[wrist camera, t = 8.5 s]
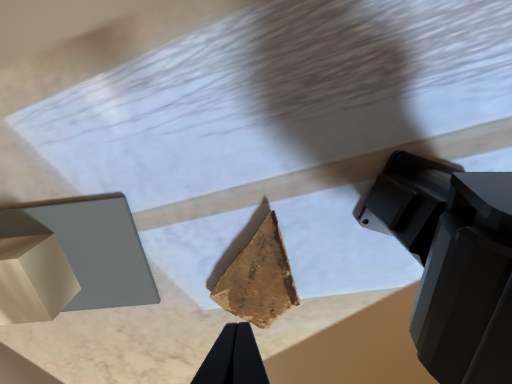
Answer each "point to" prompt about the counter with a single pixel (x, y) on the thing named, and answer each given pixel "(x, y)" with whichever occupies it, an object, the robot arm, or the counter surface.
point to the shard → (259, 279)
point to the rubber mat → (92, 249)
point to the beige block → (34, 279)
